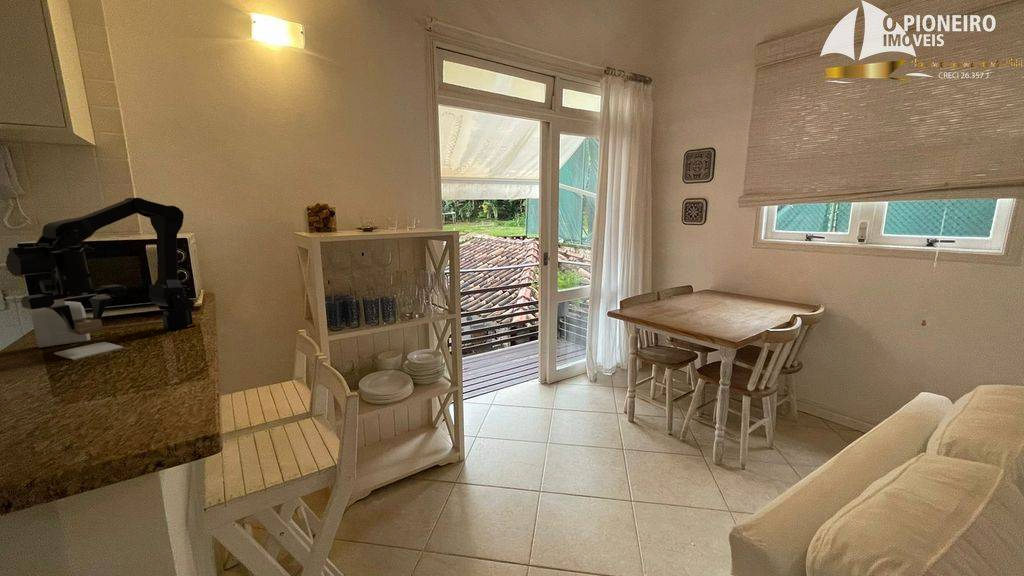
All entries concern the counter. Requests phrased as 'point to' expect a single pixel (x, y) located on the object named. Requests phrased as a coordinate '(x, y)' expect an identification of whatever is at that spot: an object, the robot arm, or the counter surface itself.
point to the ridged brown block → (86, 326)
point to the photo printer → (56, 326)
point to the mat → (88, 350)
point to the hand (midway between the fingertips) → (85, 326)
